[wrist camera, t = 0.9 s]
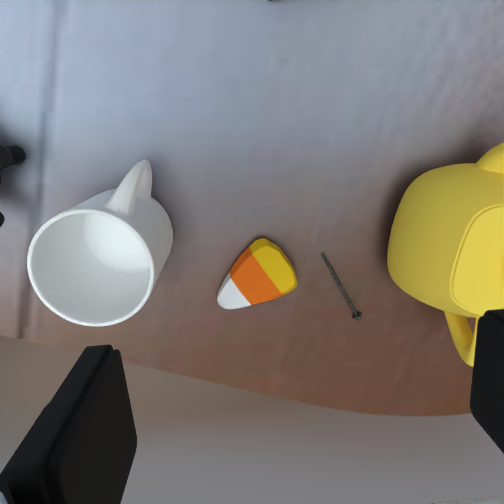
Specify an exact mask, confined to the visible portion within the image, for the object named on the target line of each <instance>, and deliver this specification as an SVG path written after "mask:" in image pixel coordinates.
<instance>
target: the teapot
mask: <svg viewBox="0 0 504 504" xmlns="http://www.w3.org/2000/svg"><path fill="white" fill-rule="evenodd" d="M387 264H388V270H389V273H390V275H391V278H392V279H393V281H394V282H395V284H396V285H398V286H399V287H400V288H401V289H402V290H403V291H404V292H406V293H407V294H409V295H411V296H412V297H414V298H416V299H417V300H419V301H421V302H423V303H425V304H428V305H430V306H432V307H435V308H437V309H440V310H443V311H444V313H445V316H446V319H447V323H448V326H449V329H450V332H451V336H452V339H453V342H454V344H455V346H456V349H457V351H458V352H459V354H460V356H461V358H462V359H463V360H464V361H465V363H466V364H468V365H470V366H472V367H473V365H474V355H475V345H476V334H477V324H478V319H479V318H480V317H481V316H483V315H484V313H485V312H486V311H487V310H496V309H504V143H501V144H499V145H497V146H495V147H493V148H492V149H490V150H489V151H488V152H487V153H485V154H484V155H483V156H482V157H481V158H480V159H479V160H478V161H477V162H476V163H464V164H454V165H449V166H443V167H440V168H436V169H433V170H430V171H428V172H425V173H423V174H422V175H420V176H419V177H417V178H416V179H415V180H414V181H413V182H412V183H411V184H410V185H409V187H408V188H407V190H406V191H405V193H404V195H403V198H402V200H401V202H400V204H399V207H398V210H397V213H396V215H395V218H394V222H393V225H392V229H391V234H390V239H389V246H388V258H387ZM466 316H467V317H473V318H476V323H475V329H474V335H473V334H472V331H471V329H470V326H469V324H468V321H467V319H466Z"/></svg>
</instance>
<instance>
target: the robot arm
mask: <svg viewBox="0 0 504 504" xmlns="http://www.w3.org/2000/svg"><path fill="white" fill-rule="evenodd" d="M470 409H471V412H472V414H473V416H474V418H475V419H476V421H477V422H478V423H479V424H480V425H481V427H482V428H483V429H484V430H485V431H486V433H487V434H488V435H489V436H490V437H491V439H492V440H493V441H494V442H495V443H496V445H497V446H498V447H499V448H500V450H501V451H502V452H503V453H504V309H496V310H487V311H486V312H485V313H484V315H483V316H481V317H480V318H479V319H478V324H477V334H476V345H475V355H474V365H473V376H472V386H471V396H470ZM136 447H137V435H136V430H135V425H134V419H133V414H132V409H131V404H130V399H129V394H128V389H127V384H126V379H125V373H124V369H123V363H122V358H121V354H120V351H119V350H113V348H112V346H111V345H100V346H89V347H86V348H85V350H84V351H83V353H82V354H81V356H80V357H79V359H78V360H77V362H76V363H75V365H74V367H73V368H72V369H71V371H70V372H69V374H68V376H67V377H66V379H65V380H64V382H63V383H62V385H61V386H60V388H59V389H58V391H57V392H56V394H55V395H54V397H53V398H52V400H51V401H50V403H49V404H48V405H47V406H46V407H45V408H44V409H43V411H42V412H41V414H40V415H39V417H38V418H37V420H36V421H35V423H34V425H33V426H32V427H31V429H30V430H29V432H28V433H27V435H26V436H25V438H24V439H23V441H22V442H21V444H20V445H19V447H18V449H17V450H16V451H15V453H14V454H13V456H12V457H11V459H10V460H9V462H8V463H7V465H6V466H5V468H4V469H3V471H2V472H1V474H0V504H120V503H121V499H122V496H123V493H124V489H125V486H126V483H127V479H128V476H129V473H130V469H131V466H132V462H133V459H134V456H135V452H136ZM432 504H504V497H494V498H484V499H474V500H462V501H452V502H442V503H432Z"/></svg>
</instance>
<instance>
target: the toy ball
mask: <svg viewBox="0 0 504 504" xmlns="http://www.w3.org/2000/svg"><path fill="white" fill-rule="evenodd" d="M25 159H26V155H25V152H24V150H23V149H22V148H21V147H19V146H17V145H10V146H1V145H0V184H1V179H2V172H3V169H2V168H6V167H8V166H14V165H19V164H22V163H23V162H24V160H25ZM3 222H4V216H3V214H2V213H1V212H0V227H1V226H2V224H3Z"/></svg>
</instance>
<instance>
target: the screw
mask: <svg viewBox="0 0 504 504" xmlns="http://www.w3.org/2000/svg"><path fill="white" fill-rule="evenodd" d="M322 257H323V259H324V261H325V262H326V264H327V266H328V268H329V270H330V271H331V274H332V275H333V276H334V278H335V280H336V282H337V284H338V285H339V287H340V289H341V291H342V292H343V294H344V296H345V298H346V300H347V301H348V303H349V305H350V306H351V308H352V310H353V312H354V313H355V314H354V315H353V319H356V320H360V319H361V315H362V313H361V312H357V311H356V309H355V307H354V306H353V304H352V302H351V301H350V299H349V297H348V296H347V293H346V292H345V290H344V288H343V287H342V284H341V283H340V281H339V279H338V278H337V276H336V274H335V272H334V271H333V268H332V267H331V266H330V263H329V262H328V260H327V258H326V257H325V255H324V254H322Z"/></svg>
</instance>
